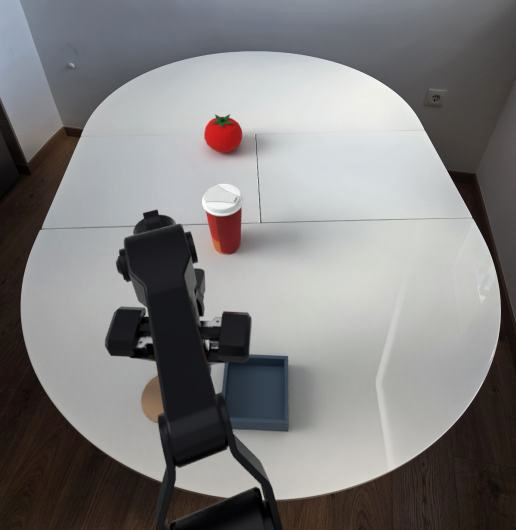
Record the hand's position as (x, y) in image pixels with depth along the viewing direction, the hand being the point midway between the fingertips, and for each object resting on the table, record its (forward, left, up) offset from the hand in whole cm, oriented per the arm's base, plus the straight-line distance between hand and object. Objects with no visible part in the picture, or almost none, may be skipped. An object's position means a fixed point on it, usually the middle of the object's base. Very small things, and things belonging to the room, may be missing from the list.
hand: (188, 361), depth 63 cm
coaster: (-1, +5, -13) cm, 14 cm away
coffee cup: (+32, -2, -13) cm, 35 cm away
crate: (0, -10, -13) cm, 16 cm away
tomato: (+66, +2, -13) cm, 68 cm away
